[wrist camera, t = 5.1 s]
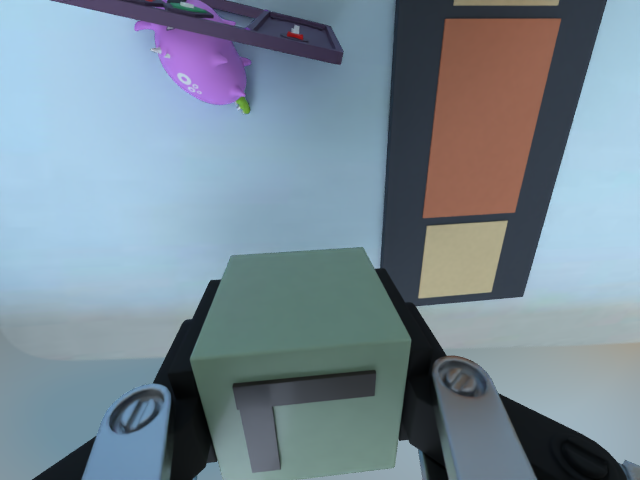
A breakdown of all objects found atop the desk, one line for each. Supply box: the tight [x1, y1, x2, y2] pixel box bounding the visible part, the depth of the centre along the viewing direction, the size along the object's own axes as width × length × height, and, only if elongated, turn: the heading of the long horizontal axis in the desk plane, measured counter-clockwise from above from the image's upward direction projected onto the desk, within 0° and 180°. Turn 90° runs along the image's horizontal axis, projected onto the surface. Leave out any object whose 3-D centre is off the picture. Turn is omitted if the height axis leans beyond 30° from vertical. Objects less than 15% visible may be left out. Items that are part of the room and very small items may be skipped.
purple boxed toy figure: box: [51, 0, 344, 115], centre depth 13 cm, size 7×5×9 cm
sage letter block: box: [190, 247, 411, 480], centre depth 9 cm, size 4×4×5 cm
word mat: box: [381, 0, 607, 306], centre depth 17 cm, size 24×11×1 cm, turn 2°
